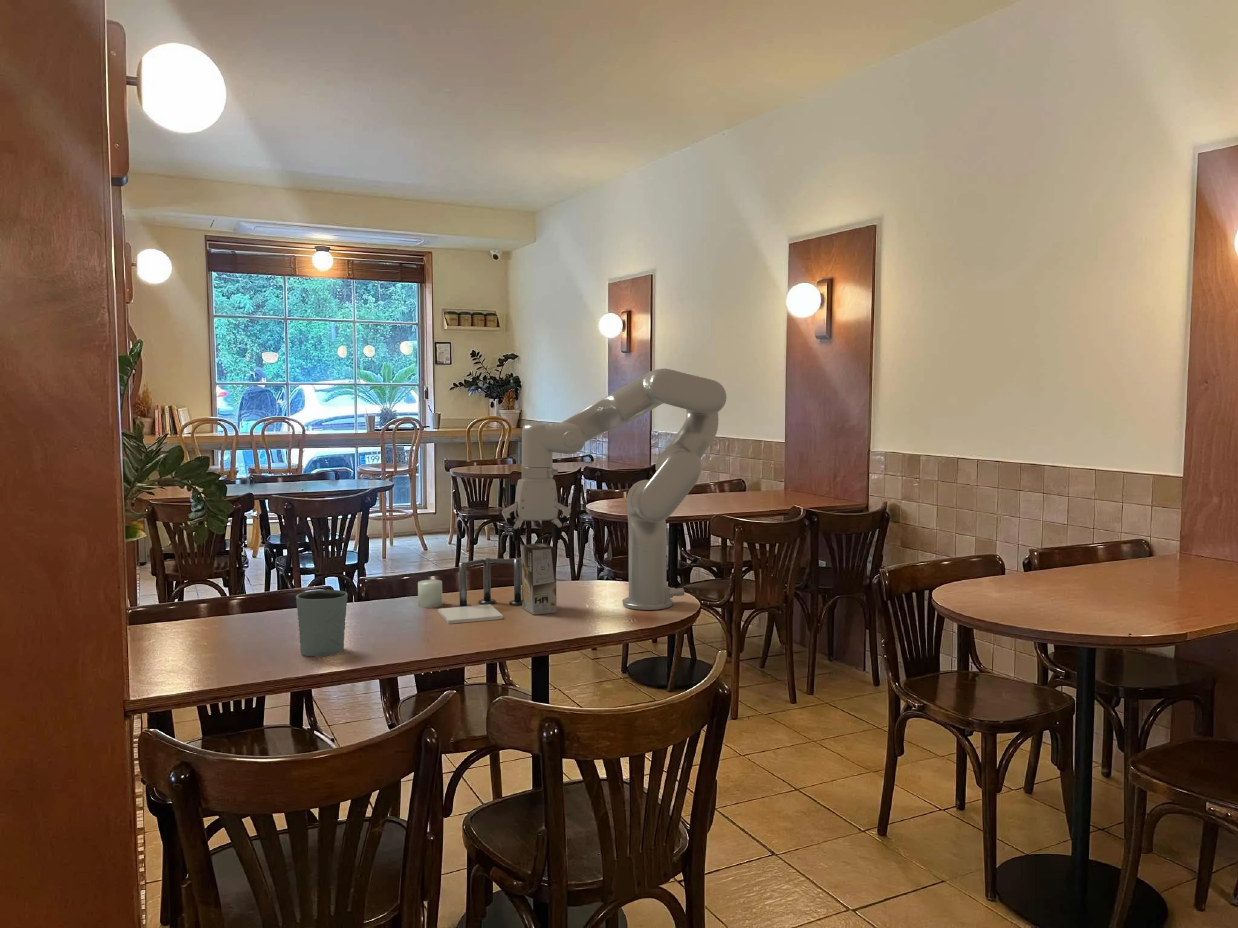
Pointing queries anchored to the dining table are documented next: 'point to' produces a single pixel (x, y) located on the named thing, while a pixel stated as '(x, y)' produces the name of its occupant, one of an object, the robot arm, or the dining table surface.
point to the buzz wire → (489, 581)
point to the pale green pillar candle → (430, 593)
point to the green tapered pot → (321, 621)
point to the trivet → (470, 614)
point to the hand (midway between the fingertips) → (536, 543)
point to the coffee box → (538, 578)
